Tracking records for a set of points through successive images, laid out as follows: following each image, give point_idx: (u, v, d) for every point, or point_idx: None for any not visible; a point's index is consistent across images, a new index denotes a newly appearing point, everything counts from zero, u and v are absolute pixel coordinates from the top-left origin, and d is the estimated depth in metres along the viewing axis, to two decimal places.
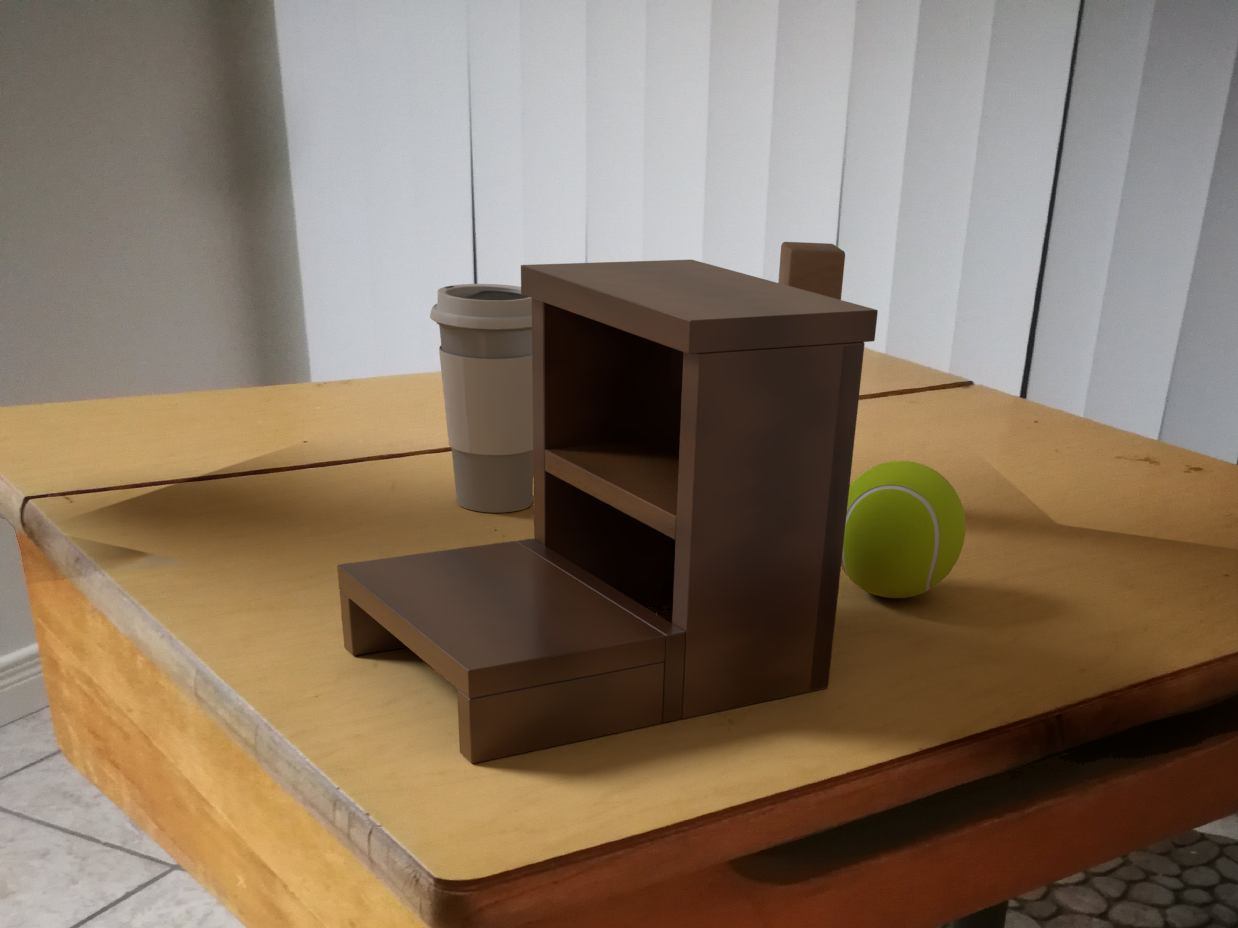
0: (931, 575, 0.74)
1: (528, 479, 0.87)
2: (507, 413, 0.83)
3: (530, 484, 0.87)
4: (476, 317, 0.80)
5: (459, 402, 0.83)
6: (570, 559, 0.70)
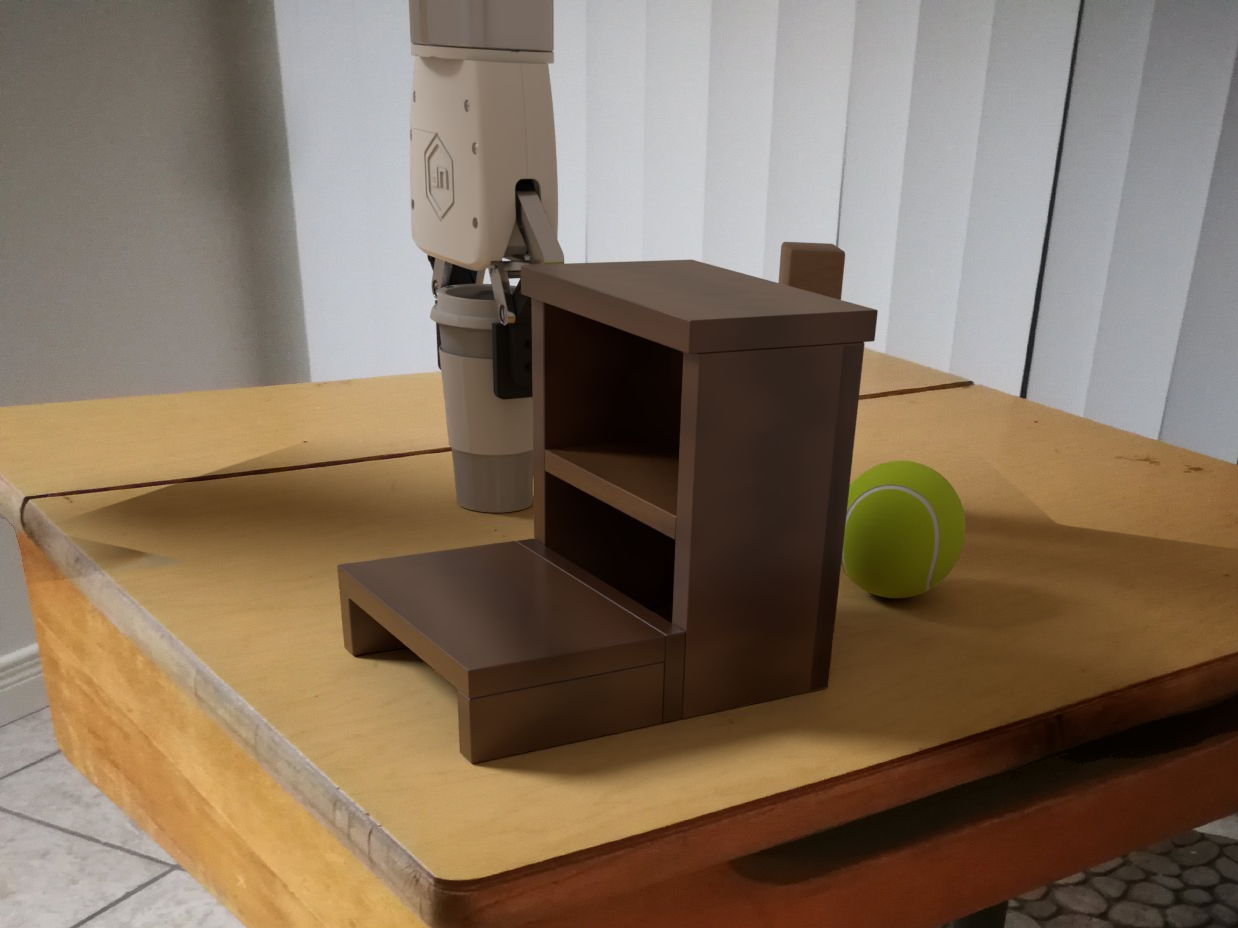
0: (931, 575, 0.74)
1: (528, 479, 0.87)
2: (507, 413, 0.83)
3: (530, 484, 0.87)
4: (476, 317, 0.80)
5: (459, 402, 0.83)
6: (570, 559, 0.70)
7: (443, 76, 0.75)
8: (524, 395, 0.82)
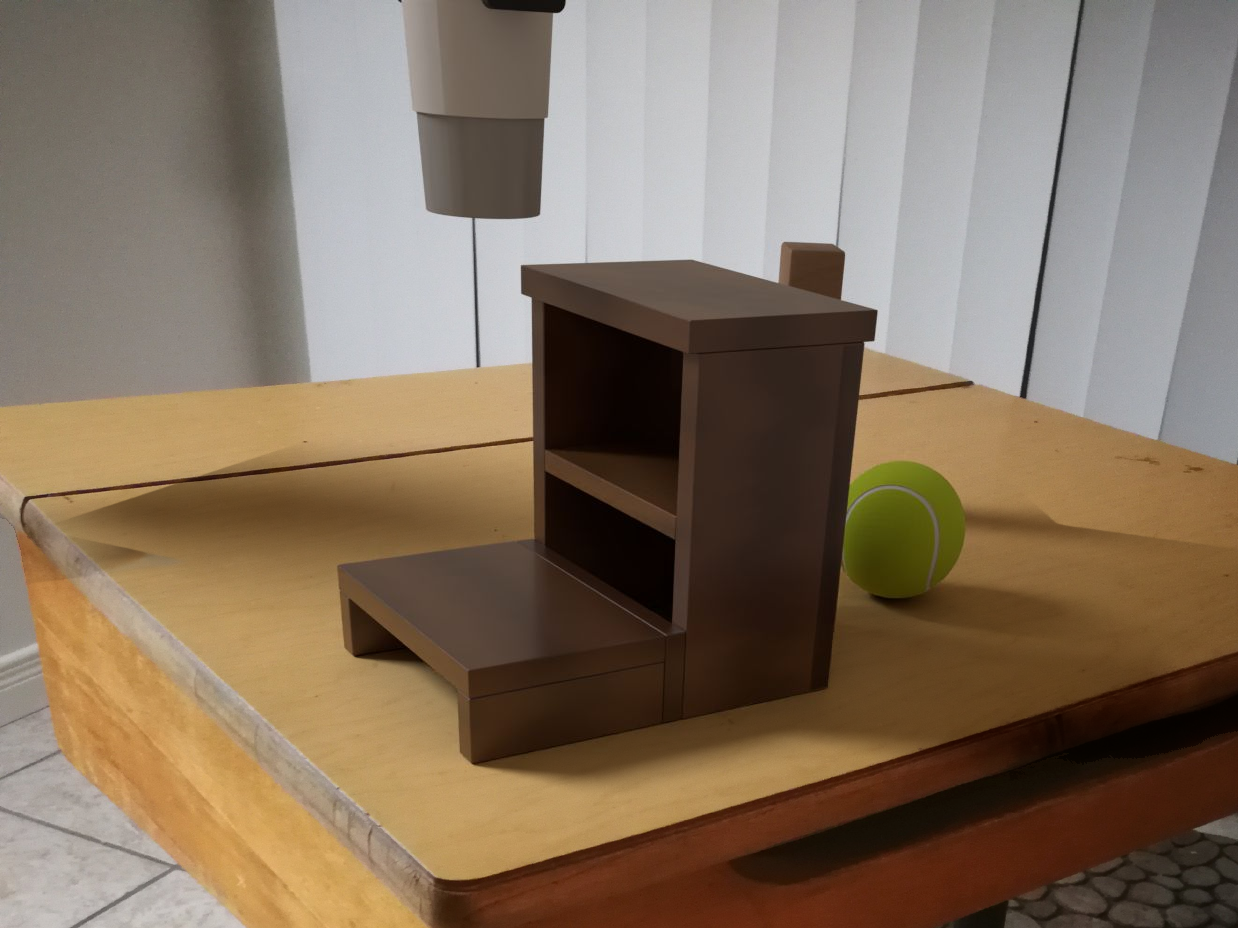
0: (931, 575, 0.74)
1: (536, 170, 0.57)
2: (503, 45, 0.53)
3: (538, 179, 0.57)
4: None
5: (428, 24, 0.53)
6: (570, 559, 0.70)
7: None
8: (529, 7, 0.52)
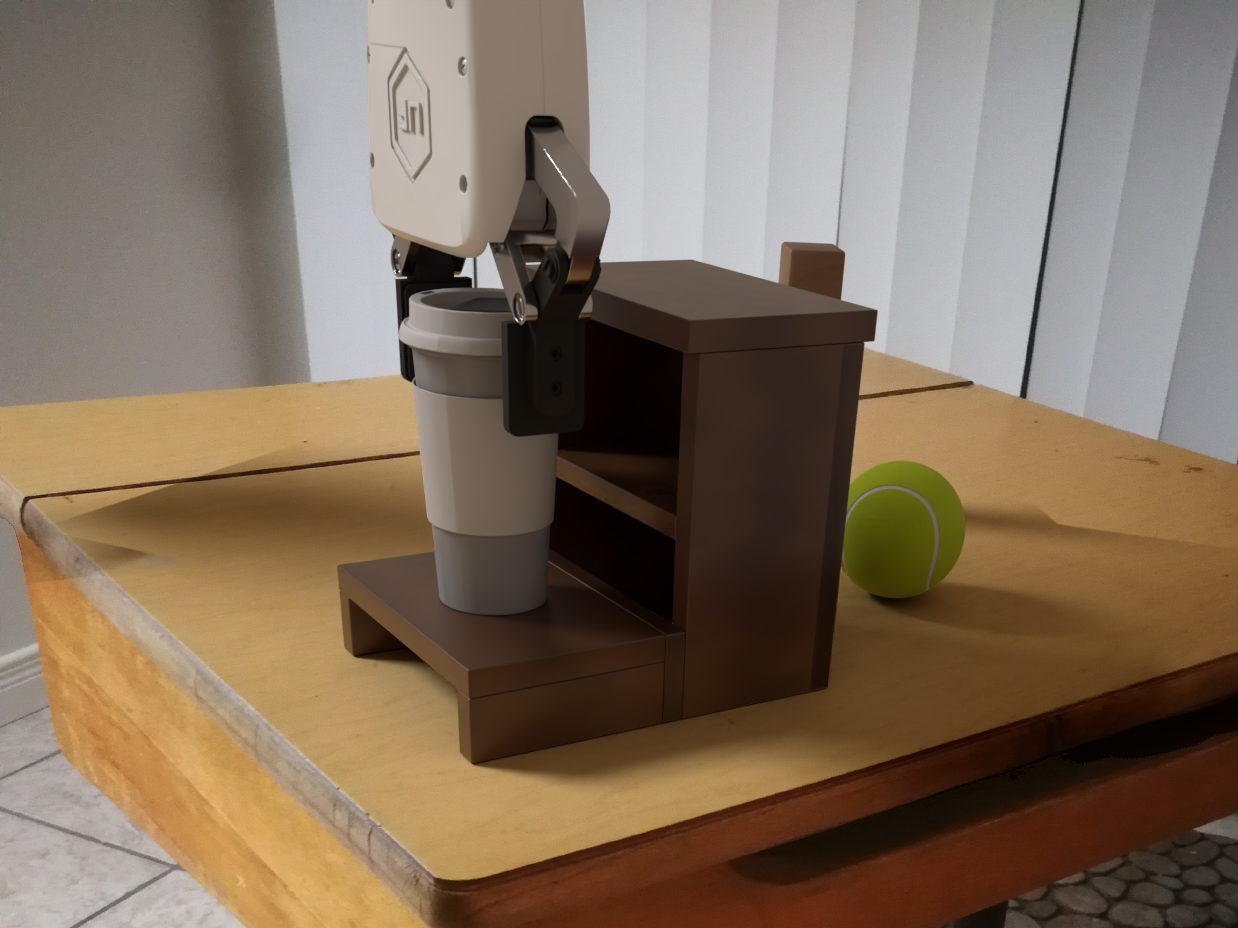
0: (931, 575, 0.74)
1: (542, 567, 0.61)
2: (512, 476, 0.57)
3: (544, 573, 0.61)
4: (466, 338, 0.54)
5: (442, 460, 0.57)
6: (570, 559, 0.70)
7: None
8: (549, 430, 0.54)
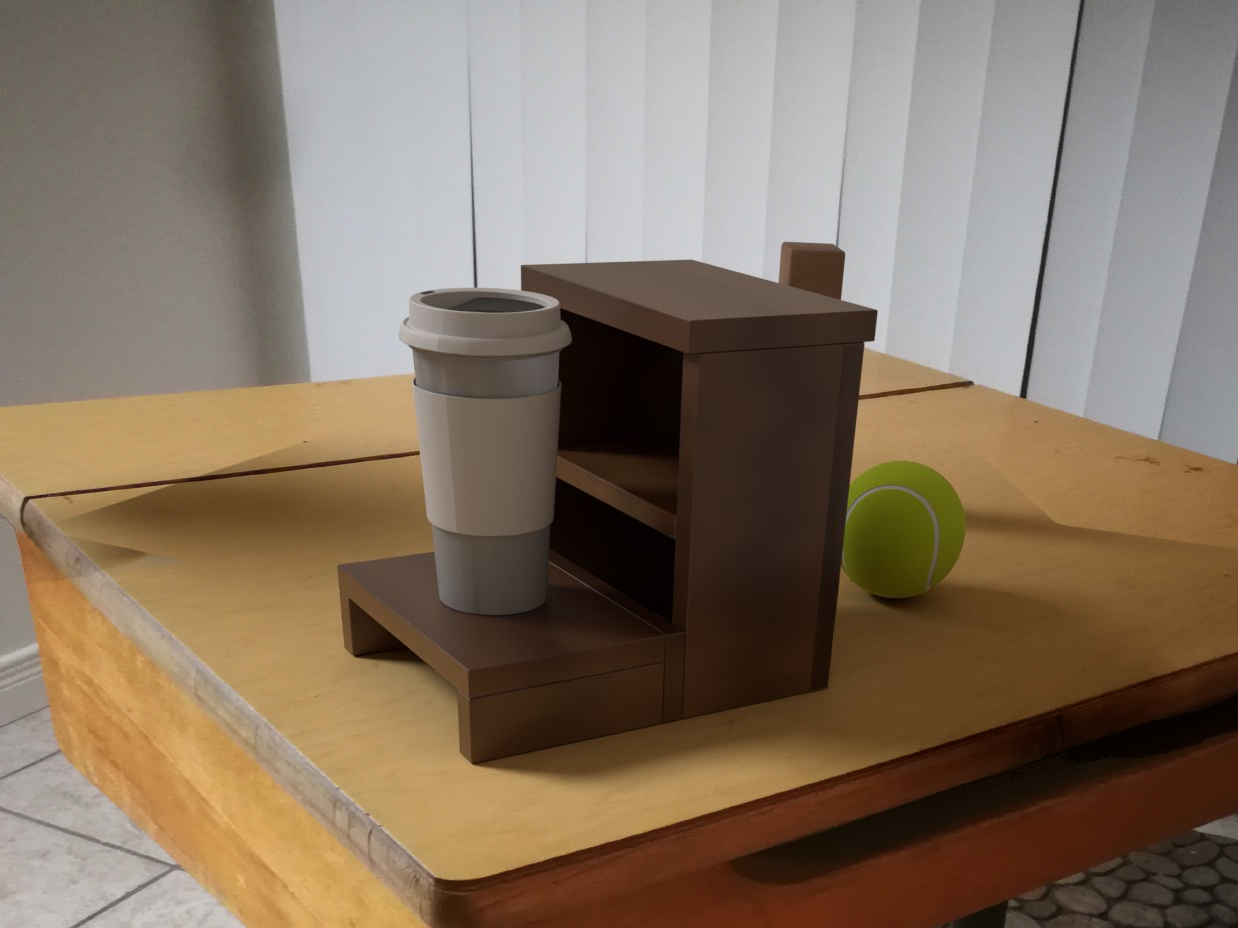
0: (931, 575, 0.74)
1: (542, 567, 0.61)
2: (512, 476, 0.57)
3: (544, 573, 0.61)
4: (466, 338, 0.54)
5: (442, 460, 0.57)
6: (570, 559, 0.70)
7: None
8: None
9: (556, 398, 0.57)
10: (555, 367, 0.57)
